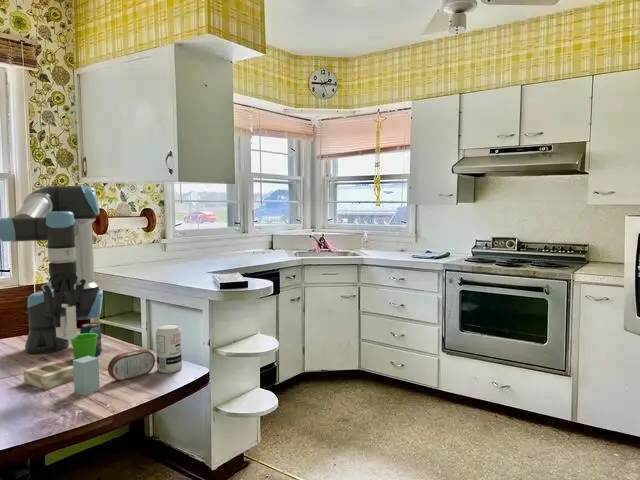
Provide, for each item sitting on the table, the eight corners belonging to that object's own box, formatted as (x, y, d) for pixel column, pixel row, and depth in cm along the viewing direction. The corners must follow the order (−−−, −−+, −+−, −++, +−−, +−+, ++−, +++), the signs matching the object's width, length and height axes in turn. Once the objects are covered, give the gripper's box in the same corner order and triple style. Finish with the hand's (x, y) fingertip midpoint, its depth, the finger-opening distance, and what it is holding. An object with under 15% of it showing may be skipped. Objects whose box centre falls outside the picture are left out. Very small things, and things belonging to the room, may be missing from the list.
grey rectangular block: (65, 334, 148) (63, 303, 147) (77, 337, 145) (75, 305, 144) (56, 337, 145) (54, 305, 145) (67, 339, 143) (66, 307, 142)
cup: (88, 372, 158) (86, 340, 157) (65, 370, 160) (63, 339, 159) (105, 363, 166) (104, 333, 166) (83, 362, 168) (82, 332, 167)
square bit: (89, 386, 145) (88, 355, 144) (99, 389, 142) (98, 358, 142) (74, 392, 141) (72, 360, 140) (84, 395, 138) (83, 363, 137)
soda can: (103, 356, 175) (101, 324, 174) (82, 359, 171) (81, 327, 170) (100, 351, 181) (98, 321, 180) (80, 354, 177) (78, 323, 176)
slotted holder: (55, 372, 158) (54, 361, 157) (76, 379, 152) (75, 367, 151) (24, 382, 149) (23, 370, 149) (45, 389, 143) (45, 377, 143)
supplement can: (160, 365, 163) (159, 324, 162) (184, 365, 164) (183, 323, 163) (154, 374, 155) (152, 330, 154) (179, 373, 156) (177, 329, 155)
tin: (152, 370, 160) (151, 346, 159) (156, 372, 157) (155, 348, 157) (107, 382, 149) (106, 356, 148) (111, 384, 147) (110, 358, 146)
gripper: (43, 265, 134) (47, 344, 136) (93, 259, 148) (97, 330, 150) (28, 263, 138) (33, 340, 140) (79, 257, 152) (82, 327, 154)
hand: (66, 335), depth 145 cm, fingers closed on grey rectangular block, 3 cm apart
